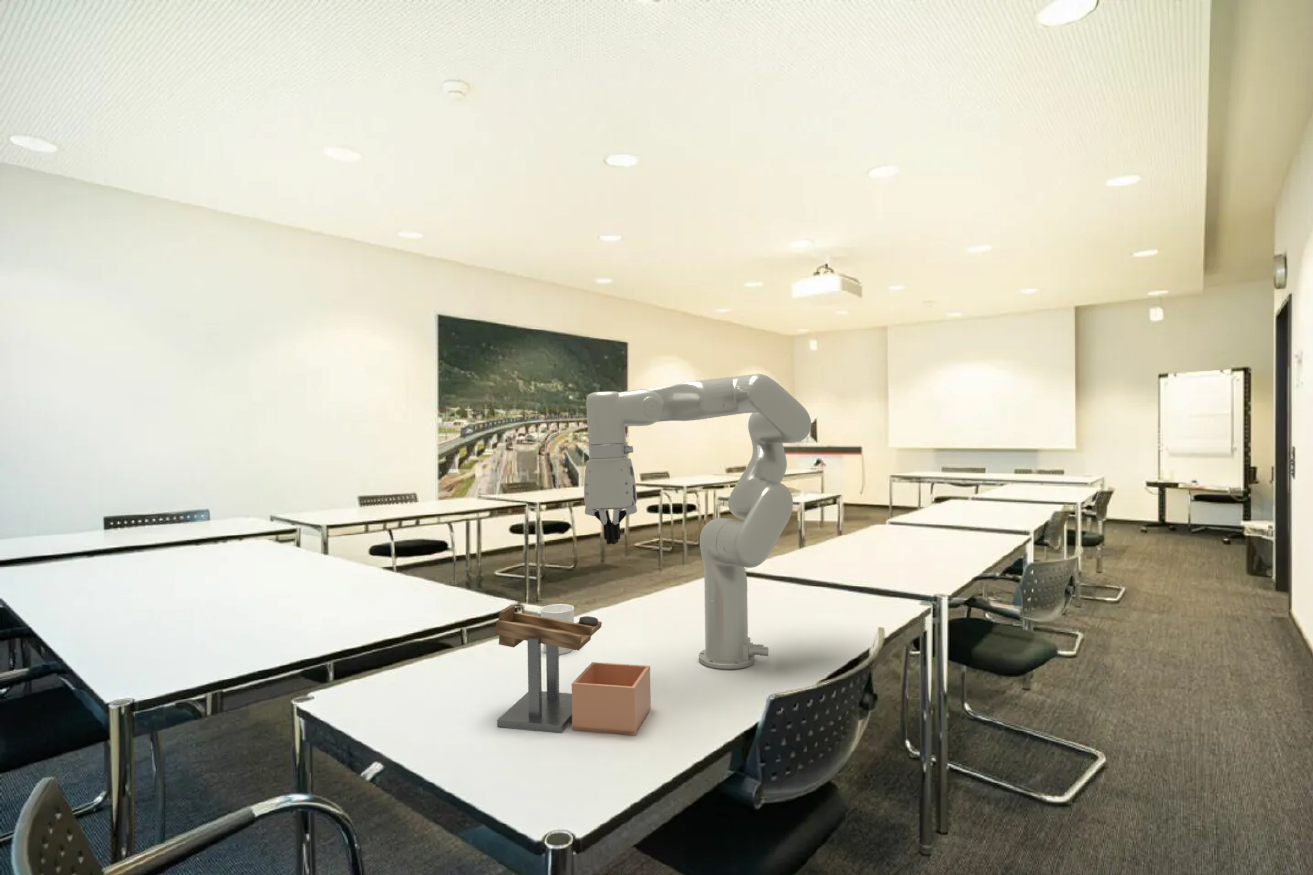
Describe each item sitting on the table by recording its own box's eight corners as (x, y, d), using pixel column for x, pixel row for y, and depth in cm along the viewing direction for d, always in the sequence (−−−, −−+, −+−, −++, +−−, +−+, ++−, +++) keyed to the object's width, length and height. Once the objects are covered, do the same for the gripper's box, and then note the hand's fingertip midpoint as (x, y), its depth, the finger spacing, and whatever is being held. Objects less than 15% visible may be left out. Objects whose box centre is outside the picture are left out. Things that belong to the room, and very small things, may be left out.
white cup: (568, 656, 157) (567, 613, 157) (536, 654, 159) (535, 611, 159) (579, 645, 165) (578, 604, 165) (548, 644, 166) (547, 603, 166)
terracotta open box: (650, 708, 126) (650, 665, 126) (635, 735, 115) (634, 687, 115) (592, 704, 129) (592, 662, 129) (572, 729, 118) (571, 683, 118)
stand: (588, 701, 131) (587, 622, 130) (561, 732, 117) (560, 644, 117) (529, 696, 133) (528, 619, 133) (497, 726, 120) (495, 641, 120)
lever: (602, 637, 134) (605, 607, 134) (577, 661, 120) (580, 628, 120) (527, 623, 138) (530, 593, 138) (493, 645, 124) (497, 612, 123)
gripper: (647, 450, 140) (652, 539, 141) (578, 453, 143) (583, 540, 144) (639, 452, 133) (644, 546, 133) (566, 455, 136) (571, 547, 136)
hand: (612, 543), depth 139 cm, fingers closed
